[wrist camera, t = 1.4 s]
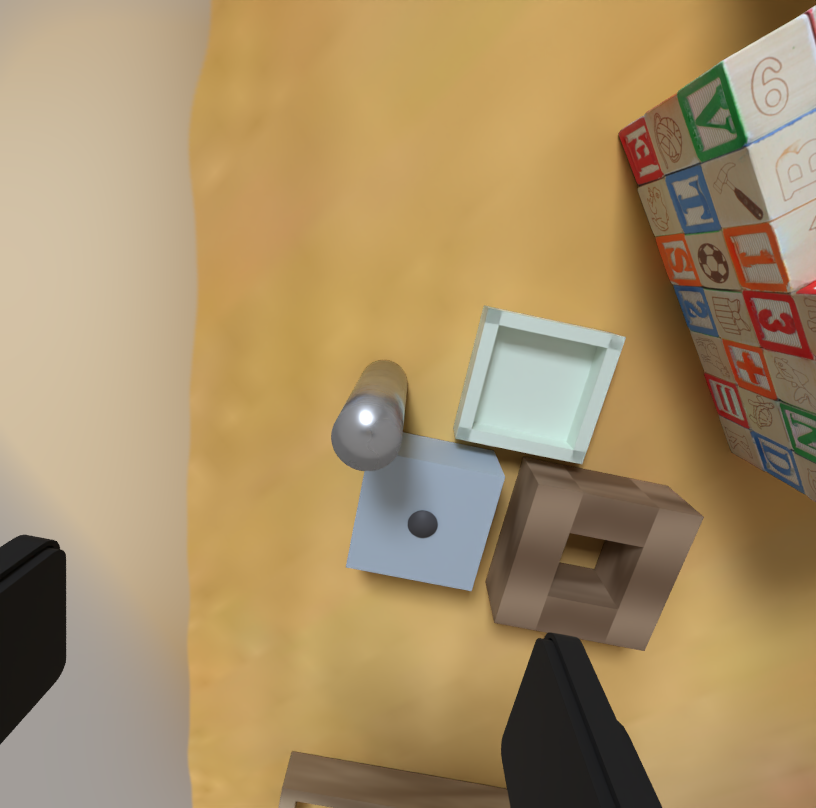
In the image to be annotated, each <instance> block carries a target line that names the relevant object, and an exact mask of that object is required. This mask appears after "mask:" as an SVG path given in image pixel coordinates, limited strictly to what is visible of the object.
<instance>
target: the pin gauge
mask: <svg viewBox="0 0 816 808" xmlns="http://www.w3.org/2000/svg"><path fill="white" fill-rule="evenodd" d="M406 394H407V377H406V374H405V372H404V370H403V369H402V368H401V367H400V366H399V365H398V364H396V363H394V362H392V361H389V360H378V361H375V362H373V363H371V364H370V365H368V366H367V367H366V368H365V370H364V371H363V373H362V375H361V377H360V378H359V380H358V382H357V384H356V386H355V387H354V389H353V391H352V393H351V395H350V396H349V398H348V400H347V402H346V404H345V405H344V407H343V409H342V411H341V413H340V414H339V416H338V418H337V420H336V422H335V423H334V426H333V429H332V435H331V440H332V445H333V448H334V451H335V453H336V454H337V456H338V457H339V458H340V460H341V461H343V462H344V463H345V464H346V465H348V466H350V467H351V468H354V469H356V470H360V471H375V470H379V469H382V468H384V467H386V466H387V465H389V464H390V463H391V462H392V461H393V460H394V459H395V458H396V456H397V455H398V453H399V451H400V448H401V443H402V434H403V424H404V414H405V404H406Z"/></svg>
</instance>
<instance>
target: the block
mask: <svg viewBox="0 0 816 808" xmlns="http://www.w3.org/2000/svg"><path fill="white" fill-rule="evenodd" d="M504 479H505V476H504V473H503V471H502V469H501V466H500V464H499V461H498V459H497V457H496V454H495V452H494V451H493V450H488V449H483V448H478V447H473V446H468V445H463V444H458V443H453V442H448V441H443V440H438V439H433V438H428V437H424V436H419V435H414V434H409V433H404V432H403V434H402V443H401V448H400V451H399V453H398V455H397V456H396V458H395V459H394V460H393V461H392V462H391V463H390V464H389V465H387V466H386V467H384V468H382V469H379V470H375V471H365V472H364V477H363V482H362V488H361V493H360V498H359V503H358V508H357V513H356V518H355V523H354V528H353V534H352V539H351V544H350V549H349V554H348V559H347V564H346V567H347V568H353V569H358V570H363V571H368V572H373V573H379V574H384V575H389V576H394V577H400V578H405V579H410V580H415V581H421V582H426V583H431V584H436V585H442V586H447V587H452V588H457V589H463V590H468V591H472V588H473V585H474V581H475V578H476V574H477V571H478V568H479V564H480V561H481V557H482V554H483V551H484V547H485V544H486V540H487V537H488V534H489V530H490V527H491V523H492V520H493V517H494V513H495V510H496V506H497V503H498V500H499V496H500V493H501V489H502V486H503V483H504Z"/></svg>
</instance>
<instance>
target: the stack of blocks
mask: <svg viewBox="0 0 816 808" xmlns="http://www.w3.org/2000/svg"><path fill="white" fill-rule="evenodd" d="M618 134H619V137H620V140H621V142H622V145H623V147H624V150H625V153H626V155H627V158H628V161H629V163H630V166H631V168H632V172H633V174H634V176H635V179H636V182H637V184H638V185H639V187H638V193H639V196H640V198H641V201H642V204H643V207H644V210H645V212H646V215H647V218H648V221H649V223H650V226H651V229H652V231H653V234H654V235H655V237H656V243H657V246H658V249H659V252H660V254H661V257H662V260H663V263H664V266H665V269H666V271H667V274H668V277H669V280H670V282H671V283H672V284H673V285H674V290H675V293H676V295H677V298H678V300H679V303H680V306H681V309H682V312H683V315H684V317H685V320H686V323H687V326H688V328H689V329H690V333H691V336H692V339H693V341H694V344H695V347H696V350H697V352H698V355H699V358H700V361H701V363H702V366H703V369H704V371H705V373H704V376H705V378H706V381H707V384H708V387H709V390H710V392H711V395H712V398H713V401H714V404H715V406H716V409H717V412H718V414H719V419H720V422H721V425H722V427H723V430H724V433H725V436H726V439H727V442H728V444H729V447H730V450H731V452H732V453H733V454H735V455H737V456H738V457H740V458H742V459H744V460H746V461H748V462H749V463H751V464H752V465H754V466H756V467H757V468H759V469H761V470H763V471H767V472H768V473H769V474H771V475H773V476H774V477H776V478H778V479H780V480H781V481H783V482H785V483H787V484H788V485H790V486H792V487H793V488H795V489H796V490H798V491H800V492H801V493H803V494H805V495H807V496H808V497H809V498H810V499H812V500H813V501H815V502H816V5H815V6H814V7H812V8H810V9H809V10H807V11H806V12H804V13H803V14H801V15H799V16H798V17H796V18H795V19H793V20H792V21H790V22H788V23H786V24H785V25H783V26H781V27H779V28H778V29H776V30H774V31H773V32H771V33H769V34H767V35H766V36H764V37H762V38H760V39H759V40H757V41H755V42H754V43H752V44H750V45H748V46H747V47H745V48H743V49H742V50H740V51H738V52H736V53H734V54H733V55H731V56H729V57H728V58H726V59H724V60H723V61H721V62H720V63H718V64H717V65H715V66H714V67H712V68H711V69H709V70H708V71H706V72H705V73H703V74H702V75H700V76H699V77H698V78H696V79H695V80H693V81H692V82H690V83H689V84H687V85H686V86H685V87H683V88H682V89H680V90H679V91H678V92H677V93H676V94H675V95H673V96H671V97H670V98H668V99H666V100H665V101H663V102H662V103H660V104H659V105H657V106H655V107H654V108H652V109H651V110H649V111H648V112H646V113H645V114H644V116H642V117H640V118H639V119H637V120H635V121H634V122H632V123H630V124H629V125H627V126H626V127H625V128H623V129H622V130H621V131H620V132H619V133H618Z"/></svg>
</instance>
